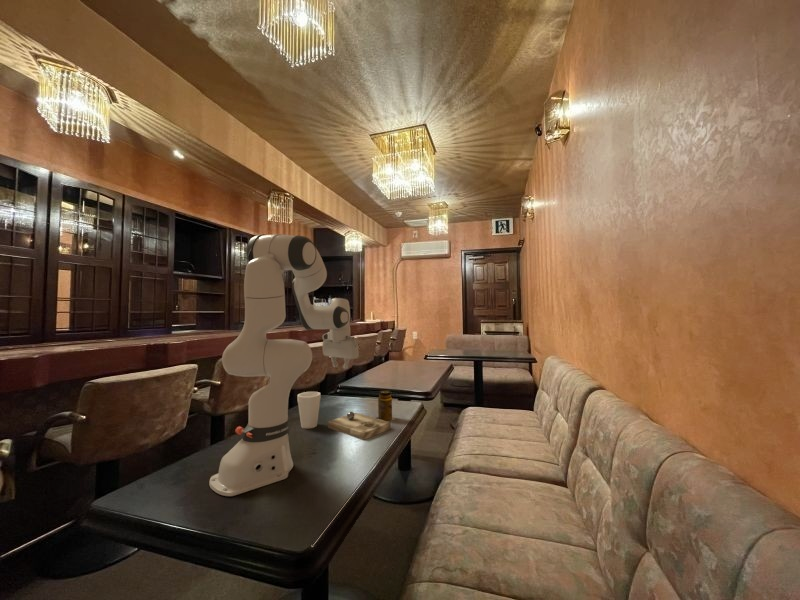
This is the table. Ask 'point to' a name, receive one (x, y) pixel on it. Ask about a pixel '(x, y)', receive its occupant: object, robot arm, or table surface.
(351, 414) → the ball
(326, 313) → the robot arm
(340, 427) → the wooden board
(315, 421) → the foam cup
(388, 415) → the condiment
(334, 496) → the table surface
